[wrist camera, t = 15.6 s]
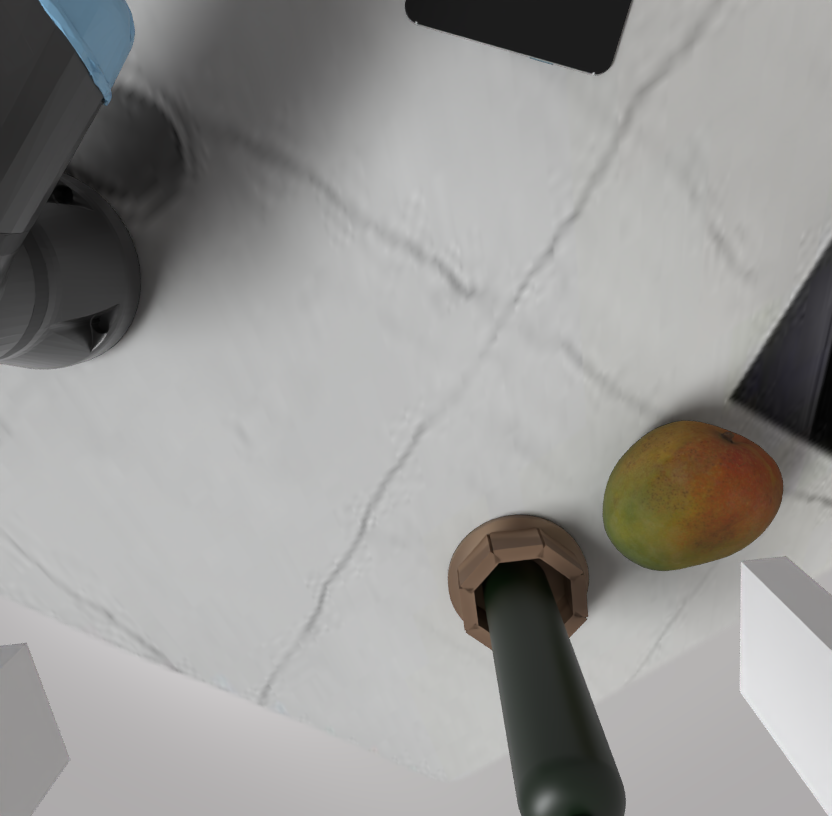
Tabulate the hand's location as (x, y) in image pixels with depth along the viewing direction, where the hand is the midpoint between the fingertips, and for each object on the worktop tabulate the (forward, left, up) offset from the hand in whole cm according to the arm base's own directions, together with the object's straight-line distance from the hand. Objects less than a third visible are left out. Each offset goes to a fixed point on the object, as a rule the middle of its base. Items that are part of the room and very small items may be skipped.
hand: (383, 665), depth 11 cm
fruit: (+19, -14, -37) cm, 44 cm away
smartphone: (+10, +23, -37) cm, 45 cm away
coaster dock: (+6, -22, -37) cm, 43 cm away
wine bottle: (+6, -22, -36) cm, 43 cm away
